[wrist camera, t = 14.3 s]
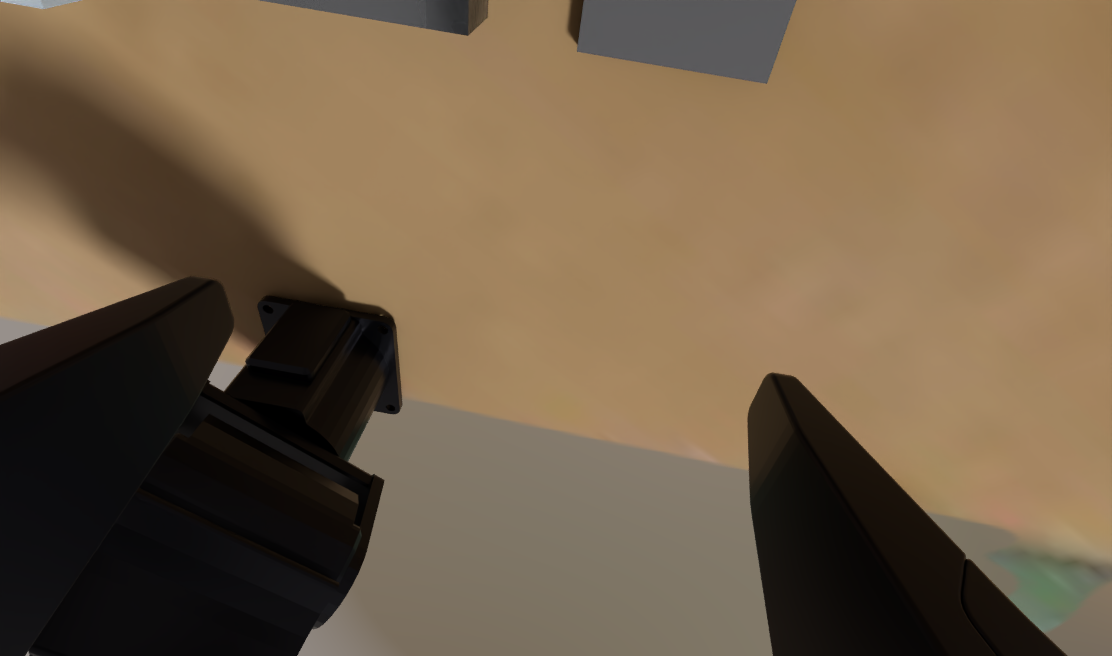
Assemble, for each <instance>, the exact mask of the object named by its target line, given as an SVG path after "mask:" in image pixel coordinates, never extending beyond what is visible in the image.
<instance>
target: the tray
mask: <svg viewBox="0 0 1112 656" xmlns="http://www.w3.org/2000/svg"><path fill="white" fill-rule="evenodd" d="M76 1H81V0H0V2H6V3H12V4H18V5H24V6H29V7H35V8H41V9H46V8H51V7H55V6H59V5H63V4H68V3H72V2H76Z"/></svg>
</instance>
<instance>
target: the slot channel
mask: <svg viewBox="0 0 1112 656" xmlns="http://www.w3.org/2000/svg"><path fill="white" fill-rule="evenodd" d="M260 1H266V2H272V3H278V4H284V5H290V6H296V7H302V8H308V9H314V10H319V11H325V12H331V13H337V14H343V15H349V16H355V17H361V18H367V19H373V20H379V21H385V22H390V23H396V24H402V25H408V26H414V27H420V28H426V29H432V30H438V31H444V32H450V33H455V34H461V35H467V36H468V35H469V34H470V33H471V32H473V31H474V30H475V29H476V28H477V27H478V26H479V25H480V24H481V23H482V22H483V21H484V20H485V19H486V18H487V17H488V0H260Z"/></svg>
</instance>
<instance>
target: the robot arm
mask: <svg viewBox="0 0 1112 656" xmlns="http://www.w3.org/2000/svg"><path fill="white" fill-rule="evenodd" d="M269 306H270V307H269ZM258 310H259V314H260V317H261V321H262V324H263V328H264V332H265V337H264V338H263V339H262V340H261V341H260V343H259V344H258V345H257V346H256V348H255V349H254V350H253V351H252V352H251V354H250V355H249V356H248V357H247V359H246V361H245V362H246V365H245V366H244V367H243V368H242V370H241V371H240V372H239V373H238V374H237V376H236V377H235V378H234V379H233V381H232V382H231V383H230V384H229V386H228V387H227V388H226V389H225V391H222V390H220V389H218V388H216V387H215V386H213V385H211V384H209V383H210V381H209V380H208V378H209V376H210V374H211V372H212V370H213V368H214V366H215V364H216V363H217V361H218V359H219V357H220V355H221V353H222V351H223V349H224V347H225V345H226V344H227V342H228V340H229V338H230V336H231V334H232V331H233V328H234V317H233V314H232V311H231V308H230V305H229V302H228V298H227V295H226V292H225V289H224V286H223V285H222V283H221V282H220V281H218V280H216V279H212V278H206V277H200V276H190V277H187V278H184V279H181V280H178V281H176V282H173V283H170V284H167V285H164V286H162V287H159V288H156V289H153V290H151V291H148V292H145V293H142V294H140V295H137V296H134V297H131V298H128V299H126V300H123V301H120V302H117V303H115V304H112V305H109V306H106V307H104V308H101V309H98V310H95V311H93V312H90V313H87V314H84V315H81V316H79V317H76V318H73V319H70V320H68V321H65V322H62V323H59V324H57V325H54V326H51V327H48V328H46V329H43V330H40V331H37V332H35V333H32V334H29V335H26V336H23V337H21V338H18V339H15V340H13V341H10V342H7V343H4V344H1V345H0V656H25V655H26V654H27V652H28V651H29V654H30V655H29V656H297V655H298V653H299V651H300V649H301V648H302V646H303V644H304V642H305V640H306V638H307V636H308V634H309V633H310V631H311V630H312V629H316V628H319V627H320V626H321V625H323V624H324V623H325V622H326V621H327V620H328V619H329V618H330V617H331V616H332V615H333V613H334V612H335V611H336V609H337V608H338V607H339V606H340V604H341V603H342V601H343V599H344V598H345V597H346V595H347V593H348V592H349V590H350V588H351V586H352V585H353V583H354V581H355V579H356V577H357V575H358V573H359V571H360V568H361V566H362V563H363V561H364V558H365V555H366V552H367V548H368V544H369V540H370V536H371V532H372V528H373V524H374V520H375V516H376V512H377V508H378V504H379V500H380V496H381V492H382V488H383V484H384V480H383V479H382V478H380V477H378V476H376V475H375V474H373V475H370V474H369V473H367V472H365V471H363V470H361V469H360V468H358V467H356V466H354V465H353V464H351V463H349V462H348V461H349V459H350V457H351V454H352V453H353V451H354V449H355V447H356V445H357V443H358V441H359V439H360V437H361V434H362V433H363V431H364V429H365V427H366V425H367V423H368V421H369V419H370V417H371V415H372V413H373V411H377V412H383V413H388V414H397V413H399V411H400V409H401V407H402V393H401V381H400V369H399V356H398V344H397V332H396V325H395V323H394V321H393V320H391V319H390V318H388V317H385V316H379V315H374V314H368V313H363V312H357V311H351V310H346V309H340V308H335V307H329V306H323V305H318V304H312V303H307V302H301V301H295V300H290V299H284V298H279V297H273V296H265V297H263V298H262V300H261V301H260V302H259V303H258ZM382 326H384V327H386V328H387V329H385V328H383V327H382ZM748 454H749V484H750V485H749V488H750V505H751V513H752V520H753V527H754V533H755V540H756V547H757V554H758V560H759V567H760V573H761V580H762V587H763V593H764V600H765V606H766V613H767V619H768V625H769V633H770V639H771V646H772V652H773V656H1067V655H1066V654H1065V653H1064V652H1063V651H1062V650H1061V649H1060V648H1059V647H1058V646H1056V644H1054V643H1053V642H1052V641H1051V640H1050V639H1049V638H1048V637H1047V636H1046V635H1045V634H1044V633H1043V632H1042V631H1041V630H1040V629H1039V628H1038V627H1037V626H1036V625H1035V624H1033V623H1032V622H1031V621H1030V620H1029V619H1028V618H1027V617H1026V616H1025V615H1024V614H1023V613H1022V612H1021V611H1020V610H1019V609H1018V608H1017V607H1016V605H1015V604H1014V603H1013V602H1012V601H1011V600H1010V599H1009V598H1008V597H1007V596H1006V595H1005V594H1004V593H1003V592H1002V591H1001V590H1000V589H999V588H998V587H996V585H995V584H994V583H993V582H992V581H991V580H990V579H989V578H988V577H987V576H986V575H985V574H984V573H983V572H982V571H981V570H980V569H979V568H978V567H977V566H976V565H975V563H974V562H973V561H972V560H970V559H966V555H965V553H964V552H963V551H962V550H961V549H960V548H959V547H958V546H957V545H956V544H955V543H954V542H953V541H952V540H951V539H950V538H949V537H948V536H947V534H946V533H945V532H944V531H943V530H942V529H941V528H940V527H939V526H938V525H937V524H936V523H935V522H934V521H933V520H932V519H931V518H930V517H929V516H928V515H927V514H926V513H925V512H924V510H923V509H922V508H921V507H920V506H919V505H918V504H917V503H916V502H915V501H914V500H913V499H912V498H911V497H910V496H909V495H908V494H907V493H906V492H905V491H904V490H903V489H902V488H901V486H900V485H899V484H898V483H897V482H896V481H895V480H894V479H893V478H892V477H891V476H890V475H889V474H888V473H887V472H886V471H885V470H884V469H883V468H882V467H881V466H880V465H879V463H878V462H877V461H876V460H875V459H874V458H873V457H872V456H871V455H870V454H869V453H868V452H867V451H866V450H865V449H864V448H863V447H862V446H861V445H860V444H859V443H858V442H857V441H856V439H855V438H854V437H853V436H852V435H851V434H850V433H849V432H848V431H847V430H846V429H845V428H844V427H843V426H842V425H841V424H840V423H839V422H838V421H837V420H836V419H835V418H834V417H833V415H832V414H831V413H830V412H829V411H828V410H827V409H826V408H825V407H824V406H823V405H822V404H821V403H820V402H819V401H818V400H817V399H816V398H815V397H814V396H813V395H812V394H811V393H810V391H809V390H808V389H807V388H806V387H805V386H804V385H803V384H802V383H801V382H800V381H799V380H798V379H797V378H796V377H794V376H791V375H785V374H779V373H769V374H767V375H766V376H765V378H764V379H763V381H762V383H761V385H760V387H759V389H758V391H757V393H756V395H755V397H754V399H753V401H752V403H751V405H750V408H749V412H748Z"/></svg>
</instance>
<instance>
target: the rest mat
mask: <svg viewBox="0 0 1112 656" xmlns="http://www.w3.org/2000/svg"><path fill="white" fill-rule="evenodd" d="M795 3H796V0H584V3H583V11H582V18H581V25H580V32H579V40H578V47H577V52H582V53H588V54H594V55H600V56H606V57H612V58H618V59H624V60H630V61H635V62H641V63H647V64H653V65H659V66H665V67H671V68H677V69H683V70H689V71H695V72H700V73H706V74H712V75H718V76H724V77H730V78H736V79H742V80H748V81H754V82H760V83H766V84H767V82H768V79H769V76H770V73H771V71H772V68H773V65H774V62H775V59H776V56H777V54H778V51H779V48H780V45H781V42H782V40H783V37H784V34H785V31H786V28H787V25H788V23H789V20H790V17H791V14H792V11H793V8H794V6H795Z"/></svg>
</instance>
